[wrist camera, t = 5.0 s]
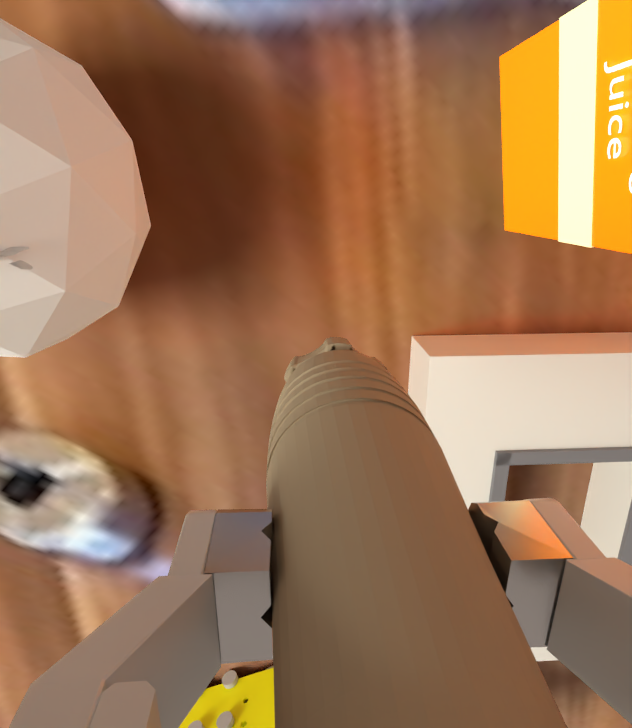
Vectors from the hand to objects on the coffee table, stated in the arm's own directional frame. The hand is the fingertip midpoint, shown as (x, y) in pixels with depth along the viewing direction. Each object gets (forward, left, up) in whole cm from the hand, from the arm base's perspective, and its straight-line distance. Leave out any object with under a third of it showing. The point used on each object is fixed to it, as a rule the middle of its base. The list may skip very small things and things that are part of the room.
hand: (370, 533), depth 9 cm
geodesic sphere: (-6, -14, -21) cm, 26 cm away
